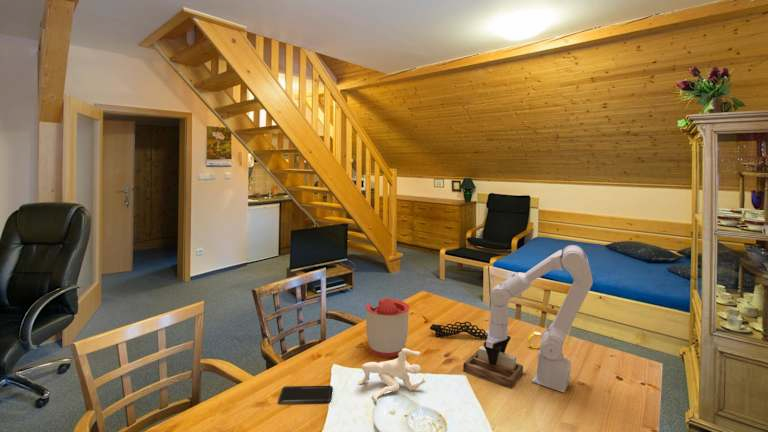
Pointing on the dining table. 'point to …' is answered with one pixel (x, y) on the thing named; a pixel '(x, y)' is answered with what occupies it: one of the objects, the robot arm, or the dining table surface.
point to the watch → (531, 337)
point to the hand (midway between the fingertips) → (496, 360)
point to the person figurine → (393, 372)
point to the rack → (492, 371)
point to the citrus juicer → (387, 327)
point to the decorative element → (458, 330)
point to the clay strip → (499, 358)
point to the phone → (306, 395)
